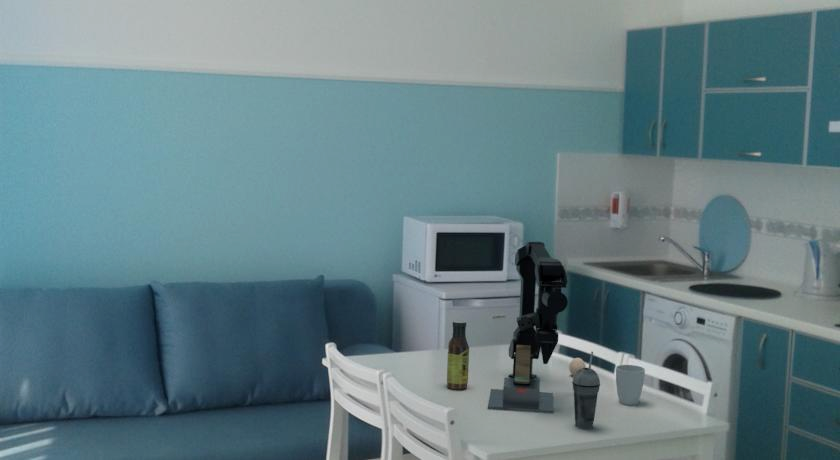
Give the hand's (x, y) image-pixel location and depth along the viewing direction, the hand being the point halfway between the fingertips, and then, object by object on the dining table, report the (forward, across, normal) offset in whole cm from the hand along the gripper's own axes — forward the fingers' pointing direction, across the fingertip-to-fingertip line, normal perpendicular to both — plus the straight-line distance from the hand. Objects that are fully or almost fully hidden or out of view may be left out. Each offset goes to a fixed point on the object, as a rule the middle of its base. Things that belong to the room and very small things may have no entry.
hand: (545, 359), depth 283 cm
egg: (+13, -31, +11) cm, 36 cm away
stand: (+12, +2, -6) cm, 14 cm away
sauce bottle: (+13, -10, -25) cm, 30 cm away
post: (+7, +2, -6) cm, 10 cm away
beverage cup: (+12, +21, +11) cm, 26 cm away
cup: (+12, -5, +24) cm, 28 cm away
